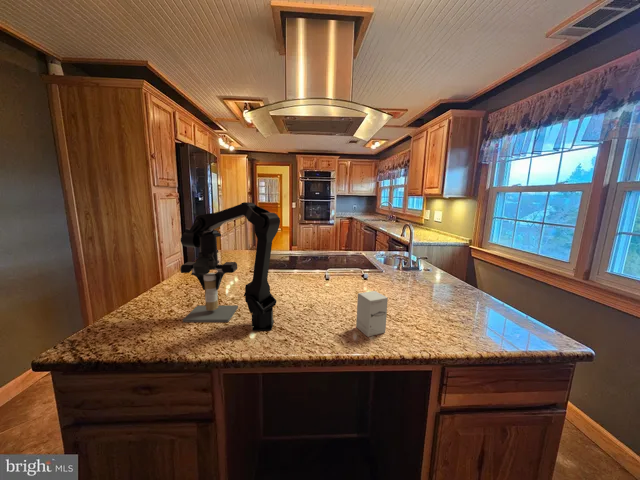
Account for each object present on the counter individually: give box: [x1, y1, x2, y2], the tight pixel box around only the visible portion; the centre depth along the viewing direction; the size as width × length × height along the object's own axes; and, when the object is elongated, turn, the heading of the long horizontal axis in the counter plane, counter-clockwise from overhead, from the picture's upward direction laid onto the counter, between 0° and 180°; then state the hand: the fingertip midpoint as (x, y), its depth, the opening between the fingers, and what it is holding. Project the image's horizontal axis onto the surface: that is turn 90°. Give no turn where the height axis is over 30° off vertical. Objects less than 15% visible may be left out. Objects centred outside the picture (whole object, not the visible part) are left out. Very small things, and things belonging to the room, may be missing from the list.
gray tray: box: [182, 304, 239, 323], centre depth 94 cm, size 16×12×1 cm
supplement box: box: [355, 290, 389, 338], centre depth 84 cm, size 7×7×13 cm
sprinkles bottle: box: [204, 272, 219, 310], centre depth 93 cm, size 5×5×14 cm
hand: (211, 289), depth 93 cm, fingers closed on sprinkles bottle, 4 cm apart
